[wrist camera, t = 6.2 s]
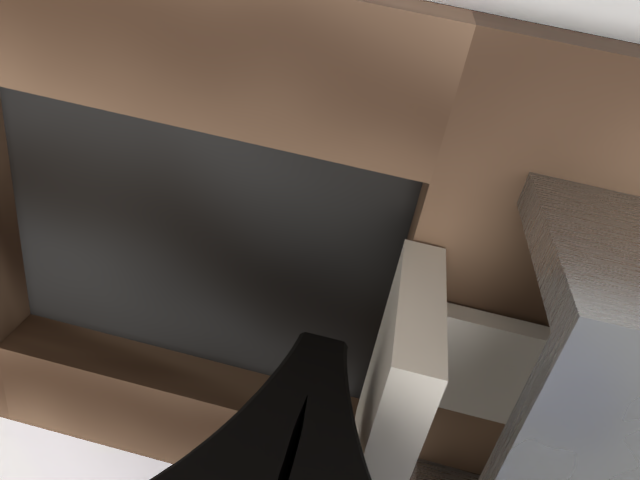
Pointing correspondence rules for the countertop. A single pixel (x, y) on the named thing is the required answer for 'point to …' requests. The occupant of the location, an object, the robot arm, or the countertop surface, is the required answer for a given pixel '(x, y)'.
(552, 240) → the tunnel
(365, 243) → the deck
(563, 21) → the countertop surface
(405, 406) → the slider
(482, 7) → the countertop surface
